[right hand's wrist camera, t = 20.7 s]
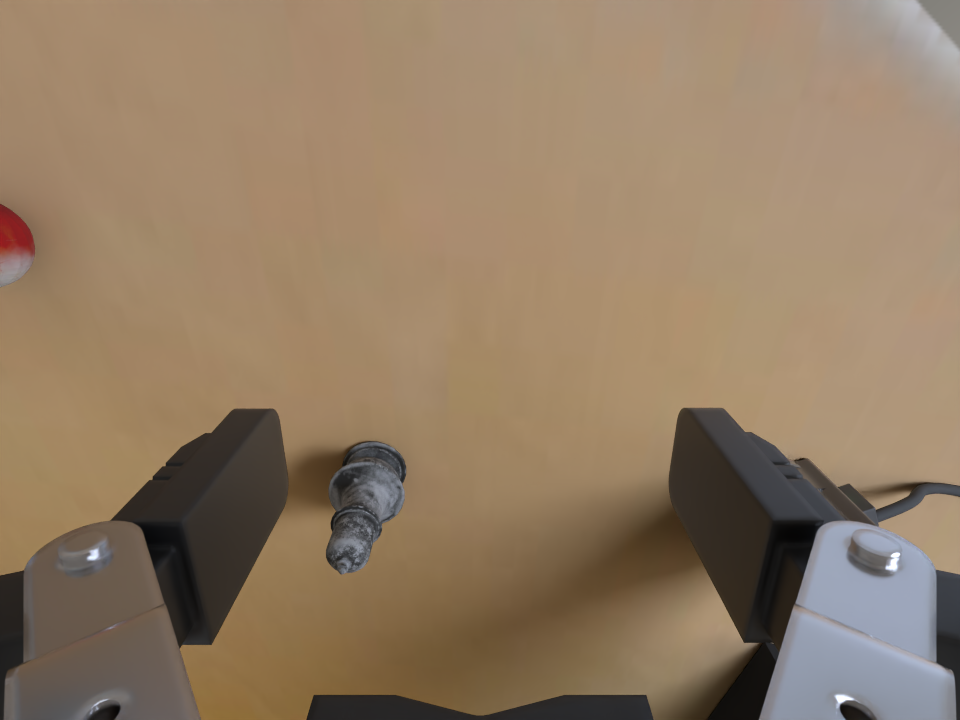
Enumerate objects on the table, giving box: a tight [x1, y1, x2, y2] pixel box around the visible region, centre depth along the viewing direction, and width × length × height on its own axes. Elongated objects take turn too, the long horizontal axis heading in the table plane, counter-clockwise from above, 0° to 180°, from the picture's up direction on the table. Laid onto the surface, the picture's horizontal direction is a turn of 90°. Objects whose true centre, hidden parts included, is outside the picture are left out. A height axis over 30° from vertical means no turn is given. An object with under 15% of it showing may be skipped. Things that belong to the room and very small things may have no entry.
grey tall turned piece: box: [326, 442, 406, 574], centre depth 41 cm, size 6×6×12 cm
